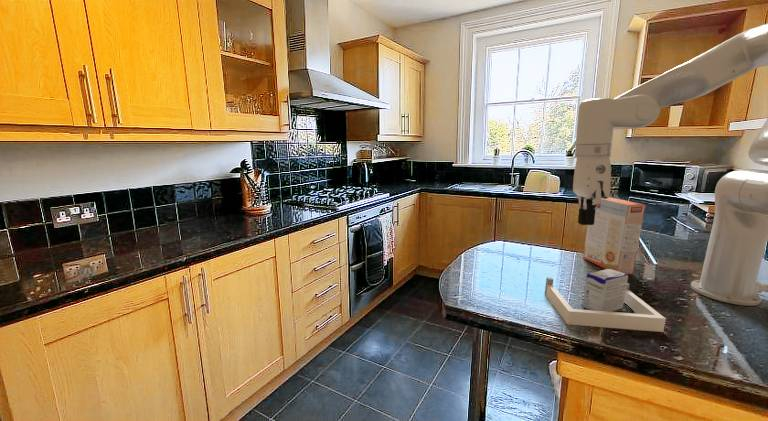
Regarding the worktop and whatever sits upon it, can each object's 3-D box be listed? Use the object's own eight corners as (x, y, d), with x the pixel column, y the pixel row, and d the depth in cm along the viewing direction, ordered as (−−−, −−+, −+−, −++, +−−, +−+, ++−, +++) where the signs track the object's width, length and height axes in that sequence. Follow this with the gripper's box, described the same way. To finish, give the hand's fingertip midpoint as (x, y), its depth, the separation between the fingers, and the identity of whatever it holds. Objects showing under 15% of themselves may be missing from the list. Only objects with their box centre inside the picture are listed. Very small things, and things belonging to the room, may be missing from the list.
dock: (623, 298, 82) (626, 282, 81) (663, 332, 68) (667, 312, 67) (544, 293, 84) (546, 277, 83) (566, 324, 70) (569, 305, 69)
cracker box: (634, 275, 96) (647, 204, 92) (615, 275, 96) (627, 204, 91) (598, 258, 110) (608, 195, 105) (581, 258, 109) (591, 195, 105)
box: (603, 300, 81) (608, 267, 79) (622, 309, 77) (629, 274, 75) (581, 307, 78) (586, 272, 76) (600, 316, 74) (606, 280, 72)
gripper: (626, 152, 74) (617, 232, 77) (594, 150, 88) (588, 217, 92) (590, 153, 75) (582, 232, 78) (564, 150, 89) (559, 217, 93)
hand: (585, 223), depth 85 cm, fingers closed
